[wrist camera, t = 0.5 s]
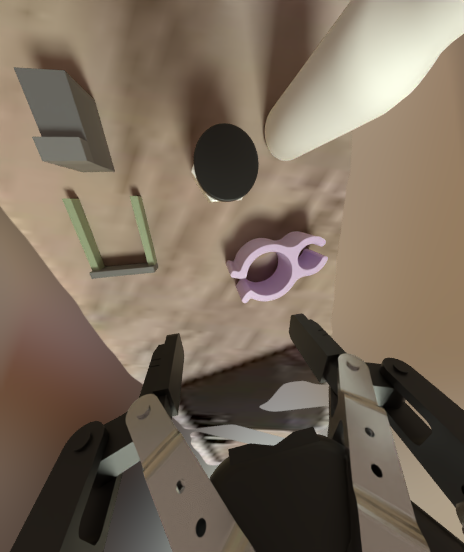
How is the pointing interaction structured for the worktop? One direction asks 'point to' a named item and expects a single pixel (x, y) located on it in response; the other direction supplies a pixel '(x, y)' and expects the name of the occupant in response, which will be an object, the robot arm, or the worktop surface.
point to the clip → (286, 270)
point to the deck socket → (91, 247)
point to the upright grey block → (65, 121)
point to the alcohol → (361, 70)
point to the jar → (225, 163)
